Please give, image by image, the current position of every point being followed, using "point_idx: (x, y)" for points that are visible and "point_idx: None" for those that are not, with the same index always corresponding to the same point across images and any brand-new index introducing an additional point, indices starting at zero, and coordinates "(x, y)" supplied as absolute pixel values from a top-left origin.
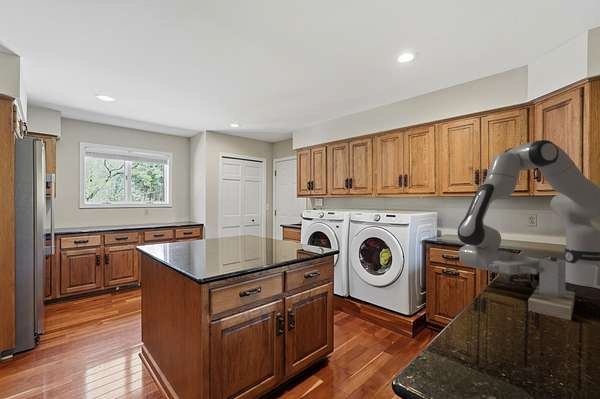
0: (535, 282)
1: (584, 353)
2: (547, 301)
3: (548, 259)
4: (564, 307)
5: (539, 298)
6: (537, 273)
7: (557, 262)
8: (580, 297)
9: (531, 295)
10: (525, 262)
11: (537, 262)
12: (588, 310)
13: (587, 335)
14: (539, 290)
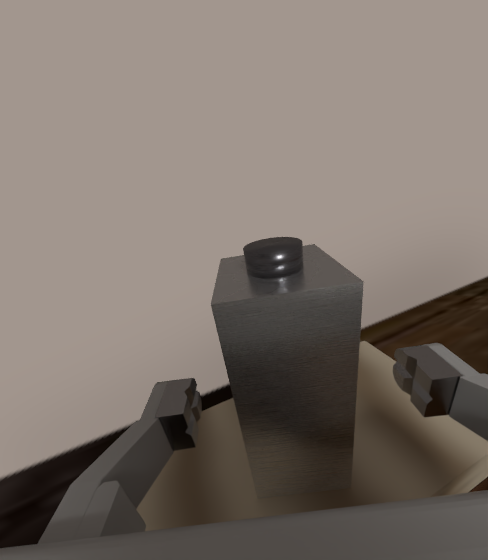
0: None
1: (470, 293)
2: (397, 397)
3: (300, 266)
4: (376, 349)
5: (410, 435)
6: (397, 374)
7: (315, 246)
8: (15, 514)
9: (427, 495)
10: (435, 523)
11: (68, 546)
12: (216, 400)
13: (399, 321)
14: (351, 472)
